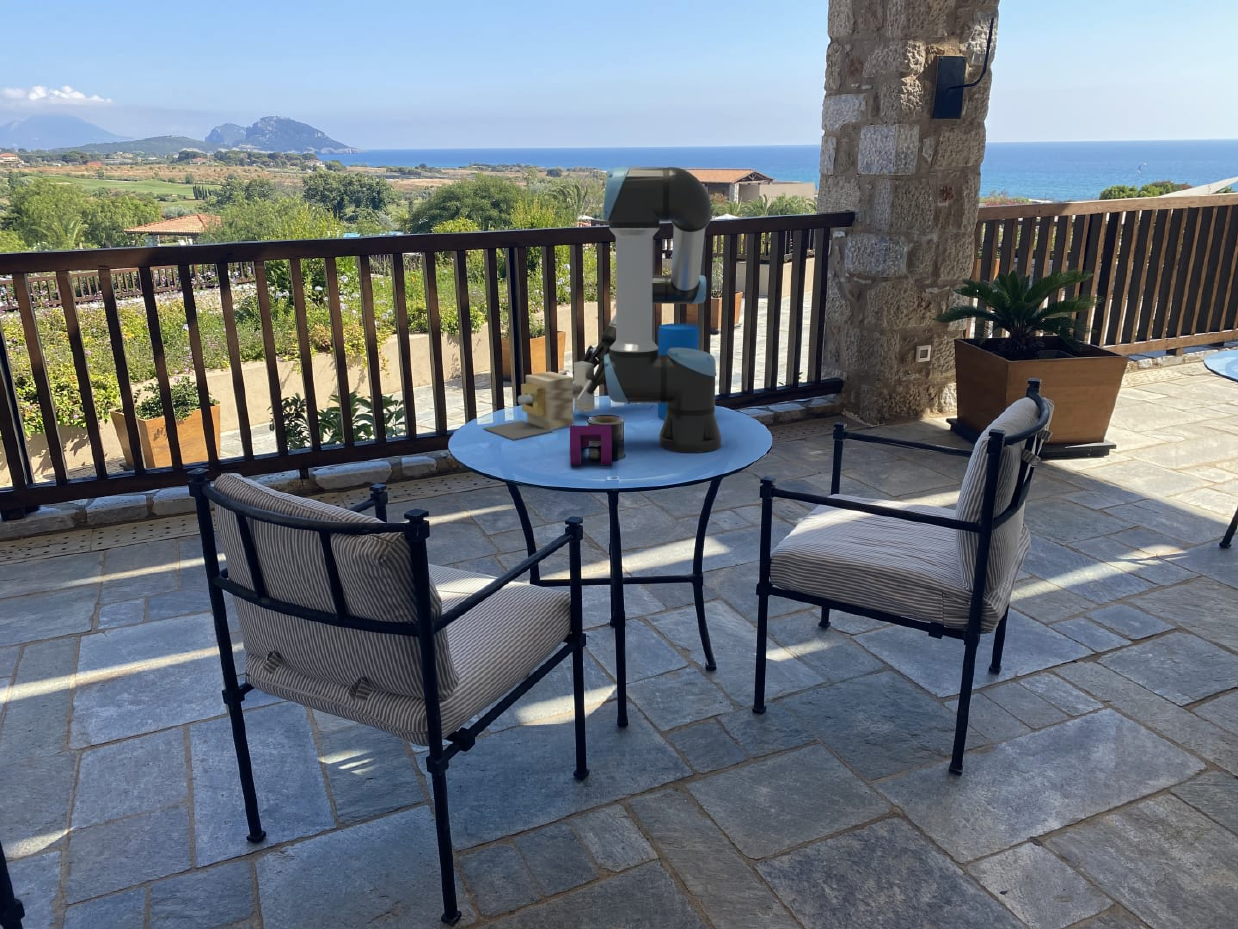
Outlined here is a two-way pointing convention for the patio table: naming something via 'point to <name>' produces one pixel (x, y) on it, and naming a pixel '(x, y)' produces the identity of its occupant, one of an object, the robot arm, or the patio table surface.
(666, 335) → the tall blue cylinder
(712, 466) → the patio table surface
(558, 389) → the wooden block
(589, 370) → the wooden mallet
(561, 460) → the patio table surface
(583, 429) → the mounting bracket
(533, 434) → the rubber mat
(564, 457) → the patio table surface
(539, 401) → the brass spacer
